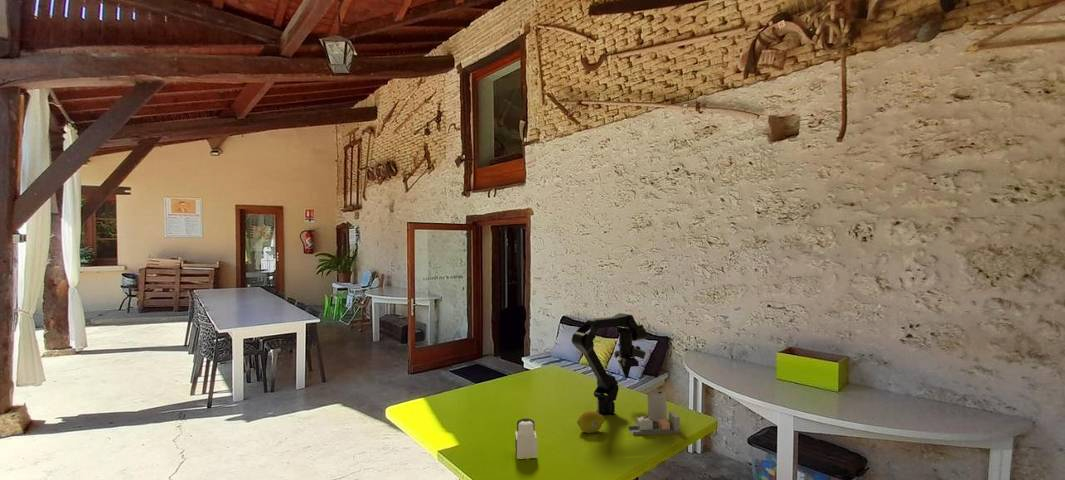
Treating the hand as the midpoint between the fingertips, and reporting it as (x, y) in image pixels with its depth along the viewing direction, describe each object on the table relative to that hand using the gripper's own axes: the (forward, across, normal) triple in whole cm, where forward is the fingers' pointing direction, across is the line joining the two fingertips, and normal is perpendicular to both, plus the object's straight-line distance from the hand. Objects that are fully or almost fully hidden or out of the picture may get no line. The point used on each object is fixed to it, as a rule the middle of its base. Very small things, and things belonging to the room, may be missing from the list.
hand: (626, 377), depth 210 cm
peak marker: (+13, -28, -7) cm, 31 cm away
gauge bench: (+13, -28, -3) cm, 31 cm away
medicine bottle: (+13, -42, +47) cm, 64 cm away
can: (+13, -16, -8) cm, 23 cm away
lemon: (+13, -25, +21) cm, 35 cm away
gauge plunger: (+13, -28, +1) cm, 30 cm away
